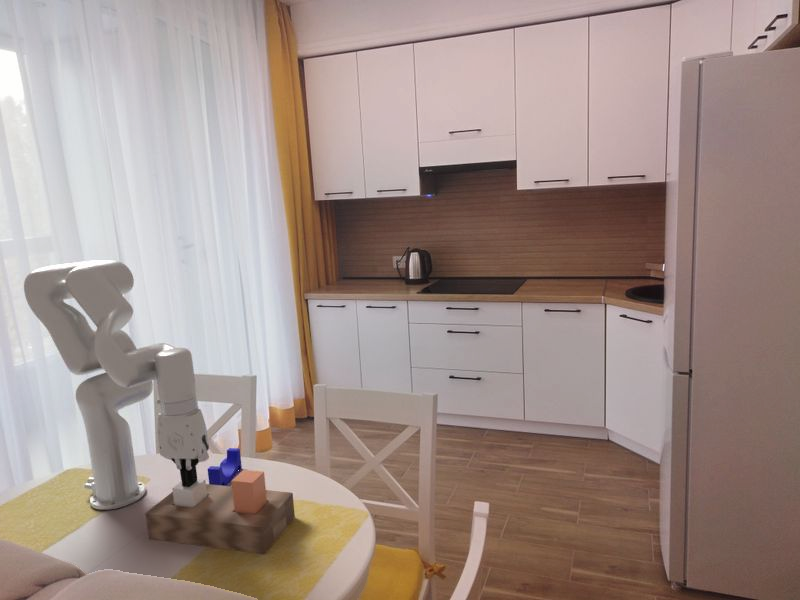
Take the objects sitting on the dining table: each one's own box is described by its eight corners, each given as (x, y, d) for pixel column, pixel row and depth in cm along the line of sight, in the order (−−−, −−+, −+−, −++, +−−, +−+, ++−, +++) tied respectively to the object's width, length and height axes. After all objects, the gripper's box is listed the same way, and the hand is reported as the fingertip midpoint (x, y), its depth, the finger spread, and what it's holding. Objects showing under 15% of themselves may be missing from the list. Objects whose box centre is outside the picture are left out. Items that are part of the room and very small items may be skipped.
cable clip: (226, 468, 160) (224, 448, 159) (241, 469, 159) (239, 448, 158) (204, 490, 148) (201, 468, 147) (221, 491, 147) (218, 469, 146)
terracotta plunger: (234, 513, 126) (231, 480, 125) (246, 501, 131) (243, 469, 129) (255, 515, 125) (252, 482, 123) (267, 503, 129) (264, 471, 128)
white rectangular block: (176, 519, 131) (172, 488, 129) (189, 507, 135) (186, 477, 134) (195, 521, 129) (192, 490, 128) (209, 509, 134) (205, 479, 133)
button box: (148, 538, 128) (145, 513, 127) (188, 505, 141) (185, 481, 140) (264, 554, 120) (262, 527, 119) (294, 517, 134) (292, 492, 132)
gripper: (138, 410, 126) (150, 489, 129) (199, 413, 122) (209, 495, 125) (161, 398, 133) (171, 473, 136) (219, 400, 129) (228, 478, 132)
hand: (189, 483), depth 131 cm, fingers closed
